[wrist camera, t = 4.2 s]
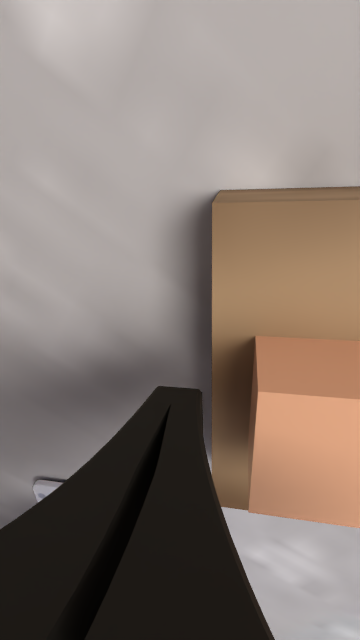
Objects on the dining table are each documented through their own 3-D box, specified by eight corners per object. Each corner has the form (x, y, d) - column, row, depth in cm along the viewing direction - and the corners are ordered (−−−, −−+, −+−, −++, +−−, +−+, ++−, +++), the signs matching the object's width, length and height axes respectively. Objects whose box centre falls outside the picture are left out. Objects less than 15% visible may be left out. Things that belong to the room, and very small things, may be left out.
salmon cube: (382, 456, 11) (417, 536, 9) (248, 442, 12) (248, 512, 10) (419, 344, 9) (477, 408, 7) (255, 336, 10) (258, 391, 8)
